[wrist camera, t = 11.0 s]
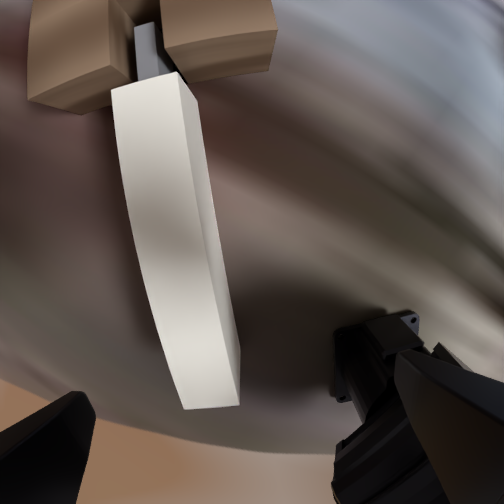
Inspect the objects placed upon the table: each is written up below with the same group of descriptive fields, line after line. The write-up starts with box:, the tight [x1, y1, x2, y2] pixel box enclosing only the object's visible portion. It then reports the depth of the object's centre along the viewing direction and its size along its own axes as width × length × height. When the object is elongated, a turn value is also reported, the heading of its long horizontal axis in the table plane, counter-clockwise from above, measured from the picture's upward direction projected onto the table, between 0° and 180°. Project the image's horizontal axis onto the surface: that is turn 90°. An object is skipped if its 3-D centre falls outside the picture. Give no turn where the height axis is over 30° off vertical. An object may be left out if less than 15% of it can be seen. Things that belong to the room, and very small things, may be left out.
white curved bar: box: [111, 22, 241, 409], centre depth 16 cm, size 20×3×6 cm, turn 9°
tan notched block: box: [27, 0, 278, 115], centre depth 13 cm, size 10×12×6 cm
